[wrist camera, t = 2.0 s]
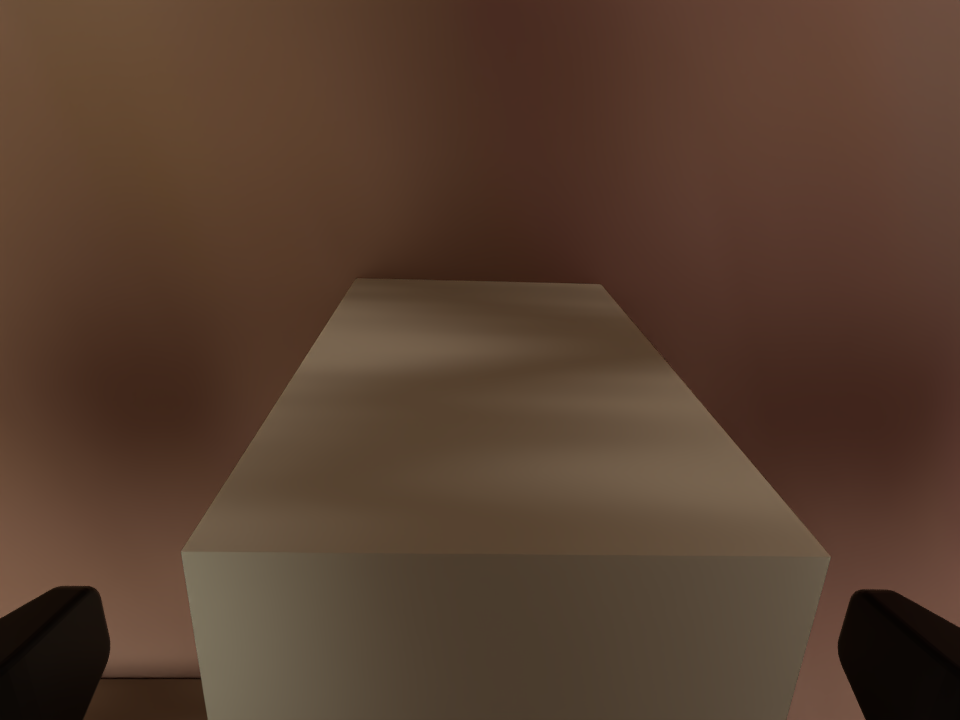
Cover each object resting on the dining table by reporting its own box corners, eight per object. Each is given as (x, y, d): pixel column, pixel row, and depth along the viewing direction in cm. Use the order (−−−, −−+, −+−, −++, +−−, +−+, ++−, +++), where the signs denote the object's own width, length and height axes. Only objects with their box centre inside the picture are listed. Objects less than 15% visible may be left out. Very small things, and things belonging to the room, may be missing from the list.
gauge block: (600, 284, 11) (831, 556, 4) (570, 579, 13) (688, 1073, 6) (356, 278, 10) (180, 551, 4) (366, 578, 13) (265, 1083, 6)
